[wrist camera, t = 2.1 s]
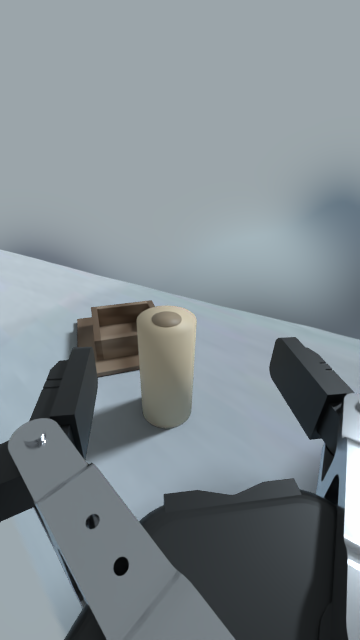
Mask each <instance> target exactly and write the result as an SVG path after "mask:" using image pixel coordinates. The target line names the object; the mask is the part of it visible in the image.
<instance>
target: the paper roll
mask: <svg viewBox="0 0 360 640" xmlns="http://www.w3.org/2000/svg"><path fill="white" fill-rule="evenodd" d="M196 322H197V321H196V317H195V315H194V314H193V313H192V312H190V311H189V310H187V309H184V308H181V307H176V306H157V307H152V308H149V309H147V310H145V311H143V312H142V313H140V314H139V316H138V317H137V335H138V350H139V365H140V379H141V394H142V409H143V415H144V417H145V419H146V420H147V421H148V422H149V423H150V424H152V425H154V426H156V427H159V428H174V427H177V426H179V425H181V424H183V423H184V422H185V421H186V420H187V419H188V418H189V416H190V413H191V405H192V388H193V372H194V355H195V339H196Z"/></svg>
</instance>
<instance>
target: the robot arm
mask: <svg viewBox="0 0 360 640" xmlns="http://www.w3.org/2000/svg"><path fill="white" fill-rule="evenodd" d="M269 370H270V375H271V378H272V380H273V382H274V383H275V385H276V386H277V388H278V390H279V391H280V393H281V394H282V396H283V398H284V399H285V401H286V402H287V404H288V406H289V407H290V409H291V410H292V412H293V414H294V415H295V417H296V418H297V420H298V422H299V423H300V425H301V426H302V428H303V430H304V431H305V433H306V434H307V436H308V438H309V439H310V440H311V439H321V438H322V439H323V441H324V445H323V447H322V453H321V461H320V469H319V476H318V484H317V490H316V494H314V493H311V492H308V491H304V490H300V489H299V488H298V486H297V484H296V482H295V480H294V478H292V479H283V480H275V481H267V482H262V483H260V484H258V485H256V486H253V487H251V488H249V489H247V490H245V491H242V492H240V493H238V494H235V495H227V494H220V493H214V492H207V491H200V490H194V491H186V492H178V493H169V494H164V505H163V506H161V507H159V508H157V509H155V510H153V511H152V512H150V513H149V514H147V515H146V516H145V517H144V518H142V519H141V520H140V521H138V520H137V519H136V517H135V516H134V515H133V513H132V512H131V511H130V509H129V508H128V507H127V505H126V504H125V503H124V502H123V500H122V499H121V498H120V496H119V495H118V494H117V492H116V491H115V490H114V488H113V487H112V486H111V484H110V483H109V482H108V481H107V479H106V478H105V477H104V475H103V474H102V473H101V471H100V470H99V469H98V468H97V467H96V465H94V464H93V463H91V464H87V463H86V461H85V459H86V453H87V447H88V441H89V435H90V430H91V424H92V418H93V412H94V406H95V400H96V395H97V387H98V378H97V370H96V364H95V357H94V350H93V347H77V348H73V349H72V352H71V355H70V358H69V360H64V361H59V362H58V363H57V364H56V365H55V366H54V367H53V368H52V369H51V370H50V372H49V375H48V377H47V381H46V382H45V384H44V387H43V390H42V392H41V394H40V396H39V399H38V401H37V404H36V406H35V409H34V411H33V413H32V416H31V418H30V421H29V422H27V423H25V424H24V425H22V426H21V427H19V428H18V429H17V430H16V431H15V432H14V433H13V434H12V436H11V438H10V440H9V441H7V442H5V443H2V444H0V522H1V521H3V520H5V519H8V518H10V517H12V516H14V515H17V514H19V513H21V512H23V511H26V510H28V509H30V508H32V507H33V508H34V510H35V512H36V514H37V516H38V518H39V520H40V522H41V524H42V526H43V528H44V530H45V532H46V534H47V536H48V538H49V540H50V542H51V544H52V546H53V548H54V550H55V552H56V554H57V556H58V559H59V561H60V563H61V565H62V567H63V569H64V572H65V574H66V576H67V578H68V580H69V582H70V584H71V586H72V588H73V590H74V592H75V594H76V596H77V598H78V600H79V602H80V604H81V606H82V608H83V609H82V611H81V613H80V614H79V616H78V618H77V619H76V621H75V623H74V624H73V626H72V628H71V629H70V631H69V633H68V634H67V636H66V638H65V639H64V640H360V393H354V392H353V391H352V389H351V388H350V387H349V386H348V385H347V384H346V383H345V382H344V381H343V380H342V379H341V378H340V377H339V376H338V375H337V374H336V373H335V371H334V370H332V368H331V367H330V366H329V365H328V364H326V362H325V361H324V360H323V359H322V358H321V357H320V356H319V355H318V354H317V353H315V352H314V351H312V350H311V349H309V348H305V347H304V346H303V344H302V343H301V342H300V341H299V340H298V339H297V338H296V337H288V338H278V339H277V340H276V342H275V346H274V350H273V354H272V358H271V362H270V367H269Z"/></svg>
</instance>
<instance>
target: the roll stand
mask: <svg viewBox="0 0 360 640" xmlns="http://www.w3.org/2000/svg"><path fill="white" fill-rule="evenodd" d="M152 307H155V306H154V304H153V302H152V300H151V301H142V302H133V303H125V304H116V305H108V306H99V307H91V311H92V317H91V318H83V319H77V339H78V347H93V350H94V357H95V364H96V370H97V377H100V376H106V375H111V374H117V373H122V372H128V371H133V370H138V369H140V365H139V350H138V335H137V317H138V316H139V314H140V313H142V312H143V311H145V310H147V309H149V308H152Z"/></svg>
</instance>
